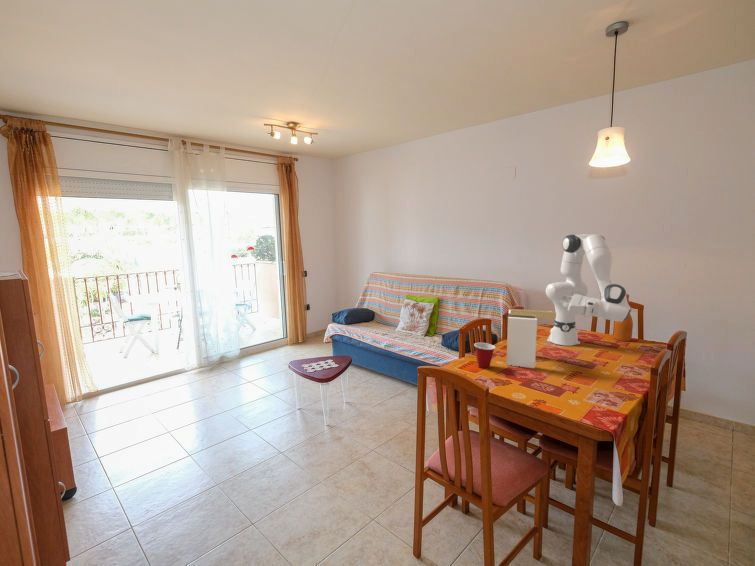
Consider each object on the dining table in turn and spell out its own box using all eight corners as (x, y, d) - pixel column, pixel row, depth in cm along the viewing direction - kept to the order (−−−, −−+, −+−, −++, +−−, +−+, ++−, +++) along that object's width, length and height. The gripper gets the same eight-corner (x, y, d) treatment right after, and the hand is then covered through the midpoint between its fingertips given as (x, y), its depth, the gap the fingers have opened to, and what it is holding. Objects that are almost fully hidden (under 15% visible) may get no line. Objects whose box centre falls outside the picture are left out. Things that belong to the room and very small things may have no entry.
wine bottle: (617, 336, 238) (621, 292, 234) (634, 340, 230) (638, 294, 225) (610, 339, 233) (613, 293, 228) (627, 342, 224) (631, 296, 220)
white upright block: (507, 352, 211) (508, 309, 207) (533, 355, 206) (535, 310, 202) (506, 365, 191) (508, 317, 187) (534, 368, 186) (537, 319, 182)
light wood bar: (510, 314, 194) (510, 308, 194) (555, 317, 186) (555, 311, 186) (510, 315, 191) (510, 310, 191) (555, 318, 183) (556, 312, 183)
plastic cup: (498, 370, 185) (498, 347, 183) (477, 371, 184) (478, 348, 182) (490, 362, 195) (491, 341, 194) (470, 363, 195) (471, 342, 193)
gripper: (594, 294, 186) (565, 288, 194) (590, 306, 170) (558, 299, 178) (591, 306, 188) (563, 299, 196) (587, 318, 172) (556, 311, 180)
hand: (561, 299), depth 186 cm, fingers open, 8 cm apart
